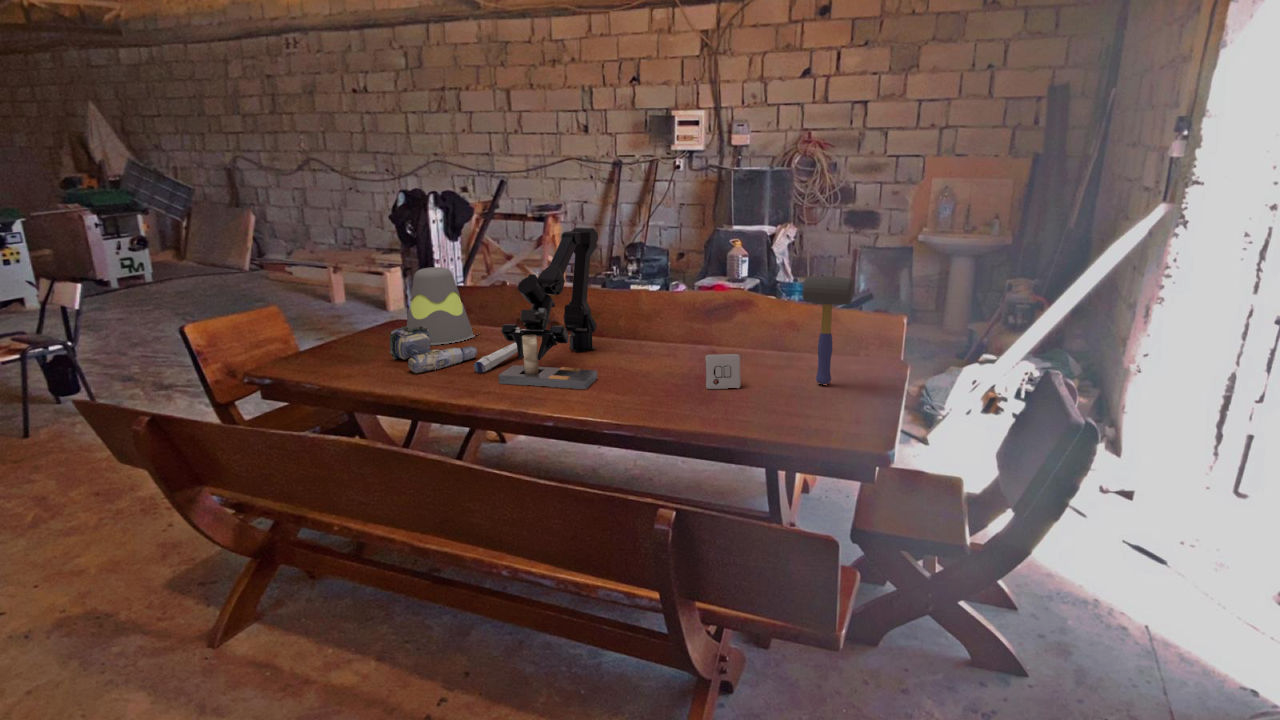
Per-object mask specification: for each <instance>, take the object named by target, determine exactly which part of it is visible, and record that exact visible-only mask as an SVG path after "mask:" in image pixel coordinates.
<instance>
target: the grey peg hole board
mask: <svg viewBox="0 0 1280 720" xmlns="http://www.w3.org/2000/svg"><path fill="white" fill-rule="evenodd" d="M538 368H539V374H538V375H527V374H525V371H524V365H516V364H513V365H510V367H508V368H507V369H505V370H504V371H502V372H501V373H499V374H498V384H500V385H517V386H527V385H531V386H530V387H541V386H546V387H545V388H555V387H558V388H557V389H569V388H573V389H572V390H583V389H586V390H587V389H588V388H589V387H591V385H593V384H594V383H595V382H596V379H597V380H598V370H595V369H583V368H582V369H581V368H579V367H578V368H577V367H568V366H567V367H565V366H561V367H550V366H549V367H548V366H538ZM532 385H534V386H532ZM547 386H548V387H547Z"/></svg>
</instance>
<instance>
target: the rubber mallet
mask: <svg viewBox="0 0 1280 720" xmlns="http://www.w3.org/2000/svg"><path fill="white" fill-rule="evenodd" d="M853 294H854V281H853V279H852V278H848V277H839V276H832V275H831V276H830V275H829V276H828V275H815V276H811V275H810V276H806V277H805V278H804V281H803V287H802V299H803V301H804V302H806V303H812V304H819V305H820V304H821V305H822V311H821V328H820V333H819V337H818V344H817V358H818V363H817V373H816V375H815V381H816V383H817V384H818V383H820V384H828V383H829V384H831V381H832V376H831V375H832V374H831V364H832V363H831V361H832V354H833V335H832V320H833V319H832V315H833V305H836V306H837V305H840V306H841V305H842V306H843V305H850V304H851V303H852V300H853Z"/></svg>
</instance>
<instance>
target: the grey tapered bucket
mask: <svg viewBox="0 0 1280 720" xmlns="http://www.w3.org/2000/svg"><path fill="white" fill-rule="evenodd" d="M457 286H458V285H457V284H456V281H455V278H454V276H453V273H452V271H451V270H450V269H449V268H447V267H439V266H438V267H437V266H436V267H435V266H433V267H425V268H424V267H423V268H420V269H419V270H417V271H416V272H415V273H414V276H413V282H412V289H411V295H410V306H409V308H408V315H407V322H406V326H407V327H408V328H410V329H414V328H415V327H416V326H417V327H420V326H421V327H423V326H426V327H427V329H429V330H428V333H429V335H430V339H431V346H442V345H441V344H444V345H450V344H449V343H452V344H456V343H455V342H458V343H461V342H460V341H462V342H465V341H464V340H466V341H468V340H467V339H469V340H471V339H470V338H472V339H474V338H476V337H475V335H473V331H472V328H473V327H472V325H471V322H470V320H469V317H468V314H467V311H466V309H465V306H464V303H463V302H462V301H461V300H462V299H461V294H460V292H459V289H458V287H457ZM477 335H478V334H477ZM478 336H479V335H478ZM473 337H474V338H473Z"/></svg>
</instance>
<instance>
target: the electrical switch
mask: <svg viewBox="0 0 1280 720" xmlns="http://www.w3.org/2000/svg"><path fill="white" fill-rule="evenodd" d="M704 357H705V377H706V378H705V381H706V382H705V387H706V389H707V390H726V389H727V390H728V388H737V389H740V387H741V357H740V355H739V354H737V353H736V354H735V353H733V354H730V353H729V354H707V355H706V356H704ZM715 381H717V382H716V383H715Z"/></svg>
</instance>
